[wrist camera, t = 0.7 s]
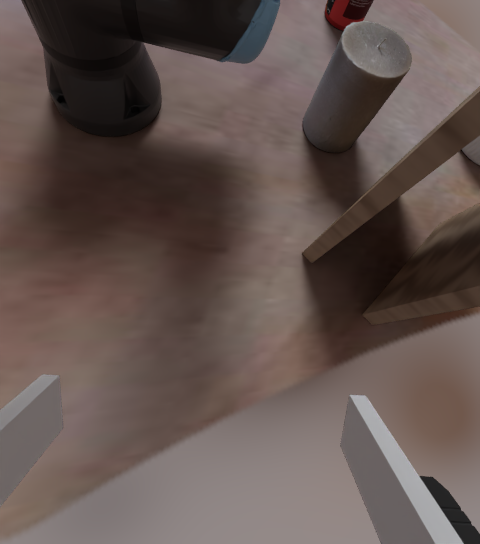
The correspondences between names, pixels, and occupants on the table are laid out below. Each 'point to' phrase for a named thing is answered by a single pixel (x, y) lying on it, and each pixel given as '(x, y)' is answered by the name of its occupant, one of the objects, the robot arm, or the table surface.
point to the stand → (439, 245)
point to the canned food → (346, 12)
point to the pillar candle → (355, 85)
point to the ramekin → (473, 150)
